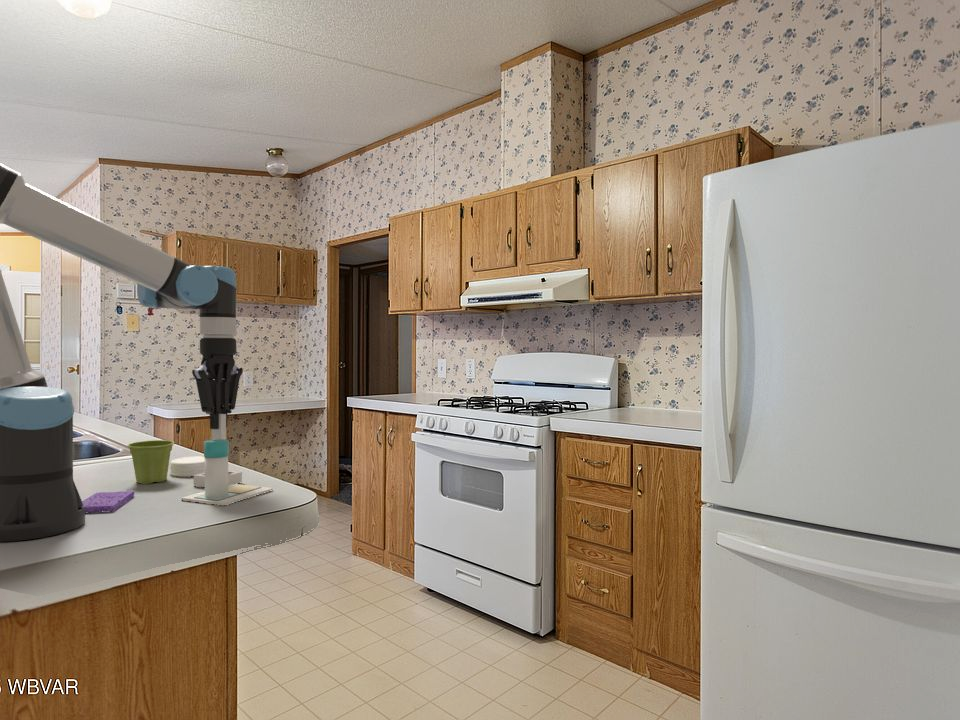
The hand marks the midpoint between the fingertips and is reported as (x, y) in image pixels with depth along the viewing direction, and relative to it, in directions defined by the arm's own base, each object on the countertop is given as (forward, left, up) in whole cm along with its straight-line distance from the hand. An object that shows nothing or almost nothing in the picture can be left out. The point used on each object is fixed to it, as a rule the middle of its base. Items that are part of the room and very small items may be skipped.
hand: (218, 443), depth 139 cm
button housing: (0, 0, -9) cm, 9 cm away
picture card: (-7, -9, -9) cm, 15 cm away
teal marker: (-10, -9, -9) cm, 16 cm away
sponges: (-22, +7, -10) cm, 25 cm away
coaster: (+8, +16, -10) cm, 20 cm away
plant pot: (-3, +17, -10) cm, 19 cm away
